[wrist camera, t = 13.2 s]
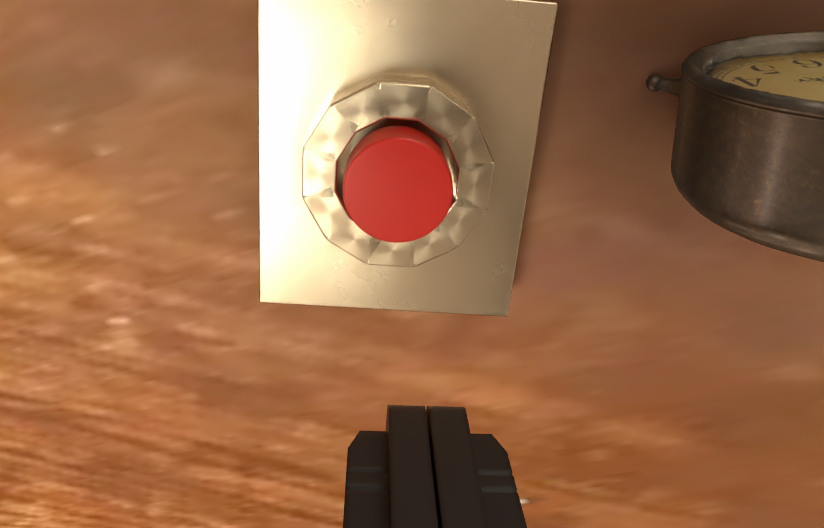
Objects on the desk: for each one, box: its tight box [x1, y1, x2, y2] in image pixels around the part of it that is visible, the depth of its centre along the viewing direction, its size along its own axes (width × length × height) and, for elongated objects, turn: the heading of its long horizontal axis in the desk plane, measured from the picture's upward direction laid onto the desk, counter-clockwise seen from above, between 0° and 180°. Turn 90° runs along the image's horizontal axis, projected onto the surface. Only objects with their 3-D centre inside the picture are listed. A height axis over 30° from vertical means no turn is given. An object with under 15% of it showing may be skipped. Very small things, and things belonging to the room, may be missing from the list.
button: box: [343, 126, 453, 243], centre depth 23 cm, size 4×4×2 cm
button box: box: [258, 0, 558, 317], centre depth 25 cm, size 12×10×4 cm
